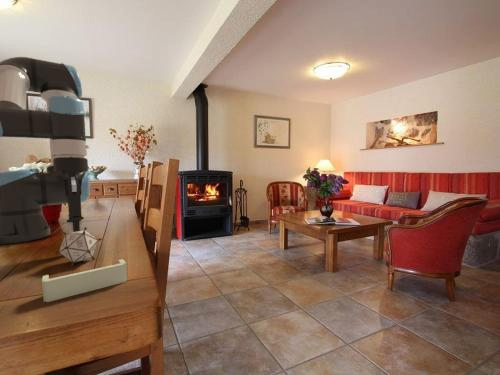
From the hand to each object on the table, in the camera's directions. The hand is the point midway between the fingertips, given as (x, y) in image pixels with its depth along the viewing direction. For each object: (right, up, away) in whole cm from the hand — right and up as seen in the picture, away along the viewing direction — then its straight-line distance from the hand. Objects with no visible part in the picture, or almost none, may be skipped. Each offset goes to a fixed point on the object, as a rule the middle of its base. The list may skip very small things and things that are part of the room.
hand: (77, 244), depth 70 cm
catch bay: (+17, -3, -22) cm, 28 cm away
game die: (+6, -3, -8) cm, 10 cm away
